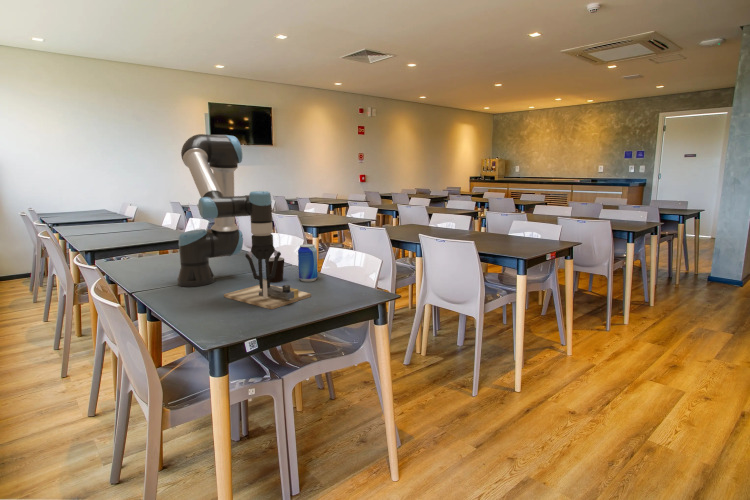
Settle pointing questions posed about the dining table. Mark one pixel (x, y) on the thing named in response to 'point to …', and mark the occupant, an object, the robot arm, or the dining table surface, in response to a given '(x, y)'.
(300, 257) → the beer can
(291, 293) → the swing bar
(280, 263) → the coffee mug
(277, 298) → the door board
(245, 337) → the dining table surface
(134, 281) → the dining table surface
